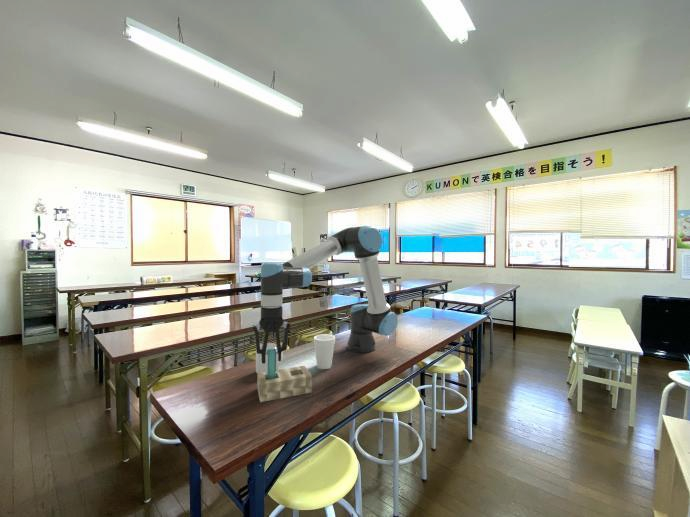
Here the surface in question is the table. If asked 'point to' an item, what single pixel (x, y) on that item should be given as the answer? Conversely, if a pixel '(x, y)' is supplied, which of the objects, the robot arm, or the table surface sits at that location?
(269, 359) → the peg
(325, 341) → the foam cup
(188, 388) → the table surface
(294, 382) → the hole block
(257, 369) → the mug
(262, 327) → the robot arm
